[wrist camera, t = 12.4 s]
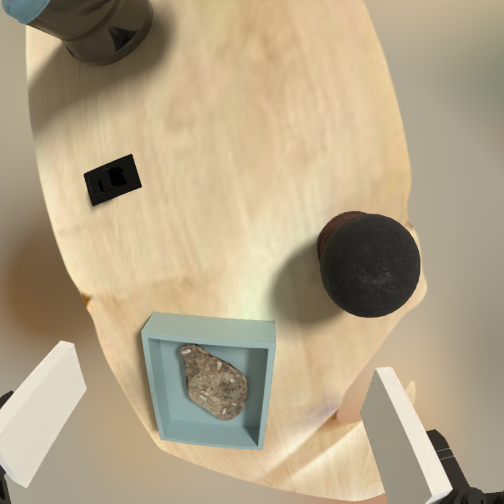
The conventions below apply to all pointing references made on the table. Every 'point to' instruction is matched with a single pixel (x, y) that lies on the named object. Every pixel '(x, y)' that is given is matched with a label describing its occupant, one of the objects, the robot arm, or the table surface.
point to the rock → (214, 383)
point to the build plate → (112, 180)
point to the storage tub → (224, 347)
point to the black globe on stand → (368, 263)
